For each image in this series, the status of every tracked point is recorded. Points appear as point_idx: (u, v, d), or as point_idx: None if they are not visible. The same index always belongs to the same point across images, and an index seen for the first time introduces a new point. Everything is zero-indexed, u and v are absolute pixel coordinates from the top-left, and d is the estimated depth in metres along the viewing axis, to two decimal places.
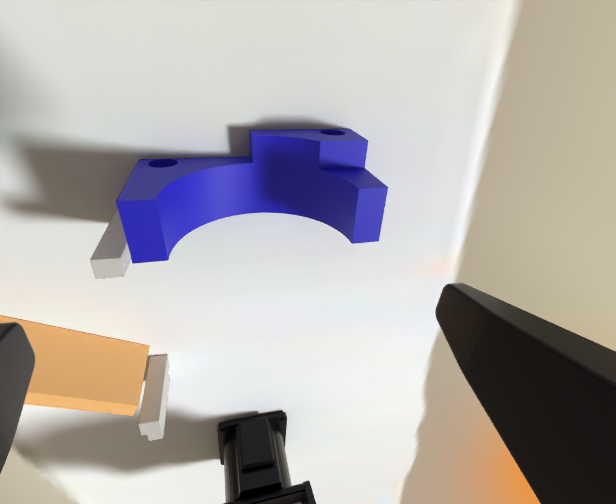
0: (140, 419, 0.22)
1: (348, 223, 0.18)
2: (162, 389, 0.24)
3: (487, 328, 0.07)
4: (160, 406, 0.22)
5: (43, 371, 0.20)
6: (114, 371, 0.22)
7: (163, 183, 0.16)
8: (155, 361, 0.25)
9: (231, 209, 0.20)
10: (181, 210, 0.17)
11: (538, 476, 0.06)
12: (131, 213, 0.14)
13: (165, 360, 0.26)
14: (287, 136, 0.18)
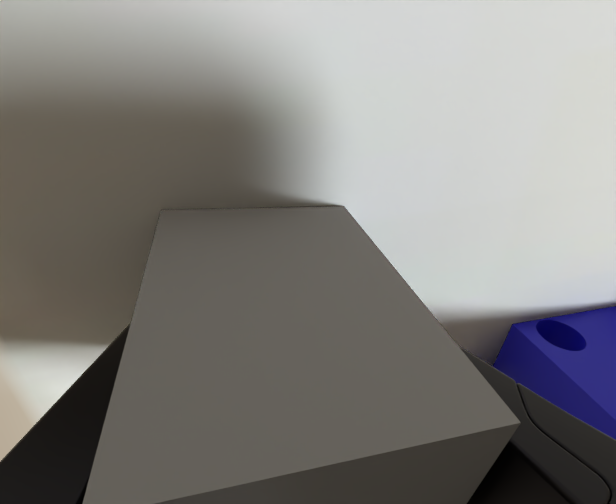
0: None
1: None
2: None
3: None
4: None
5: None
6: None
7: None
8: None
9: None
10: None
11: None
12: None
13: None
14: None
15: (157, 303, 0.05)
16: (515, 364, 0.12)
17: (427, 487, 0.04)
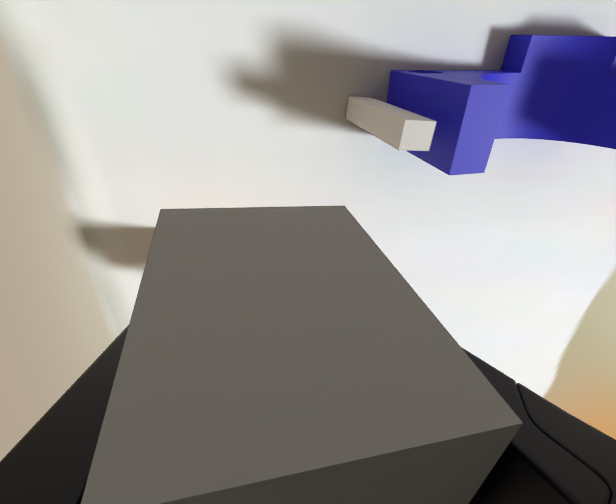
0: None
1: None
2: None
3: None
4: None
5: None
6: None
7: (476, 79, 0.13)
8: None
9: None
10: None
11: None
12: (478, 103, 0.11)
13: None
14: (572, 36, 0.15)
15: (156, 303, 0.05)
16: (394, 102, 0.16)
17: (428, 488, 0.04)
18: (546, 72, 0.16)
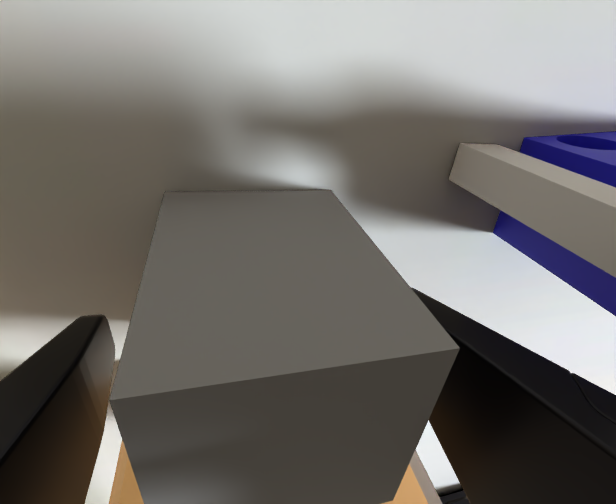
0: None
1: None
2: (434, 492, 0.13)
3: None
4: None
5: None
6: None
7: None
8: None
9: None
10: None
11: (476, 493, 0.06)
12: None
13: None
14: None
15: (164, 262, 0.05)
16: None
17: (387, 405, 0.05)
18: None
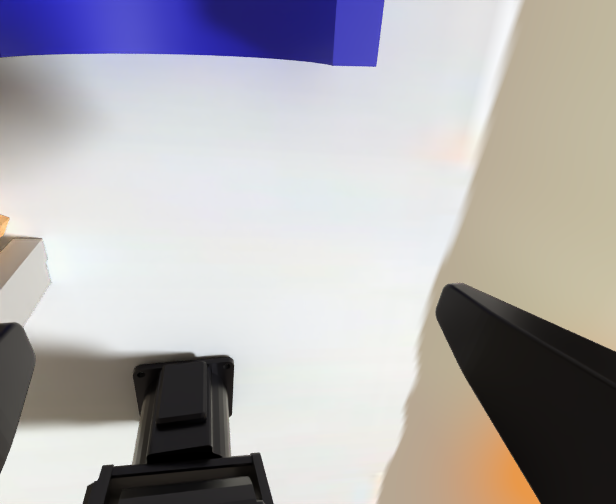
0: None
1: (326, 33, 0.11)
2: (12, 275, 0.15)
3: (487, 328, 0.07)
4: None
5: None
6: None
7: None
8: (19, 243, 0.16)
9: (150, 42, 0.13)
10: None
11: (538, 476, 0.06)
12: None
13: (35, 244, 0.17)
14: None
15: None
16: None
17: None
18: None
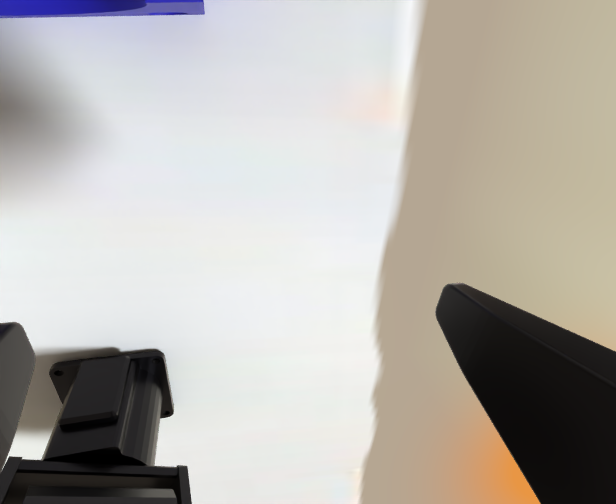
0: None
1: None
2: None
3: (487, 328, 0.07)
4: None
5: None
6: None
7: None
8: None
9: None
10: None
11: (538, 476, 0.06)
12: None
13: None
14: None
15: None
16: None
17: None
18: None
